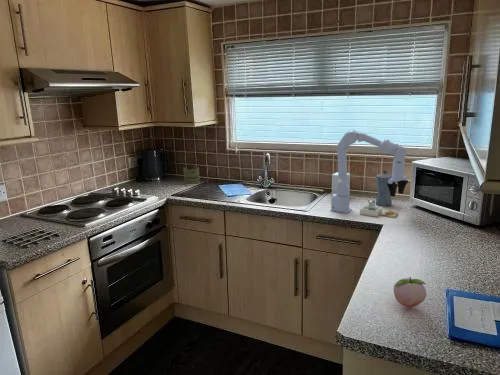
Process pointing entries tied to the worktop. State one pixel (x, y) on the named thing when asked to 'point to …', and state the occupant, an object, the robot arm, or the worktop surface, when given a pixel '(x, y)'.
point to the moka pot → (383, 190)
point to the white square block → (335, 182)
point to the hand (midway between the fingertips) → (396, 194)
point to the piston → (191, 176)
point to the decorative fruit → (409, 292)
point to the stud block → (389, 214)
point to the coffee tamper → (371, 205)
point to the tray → (371, 211)
